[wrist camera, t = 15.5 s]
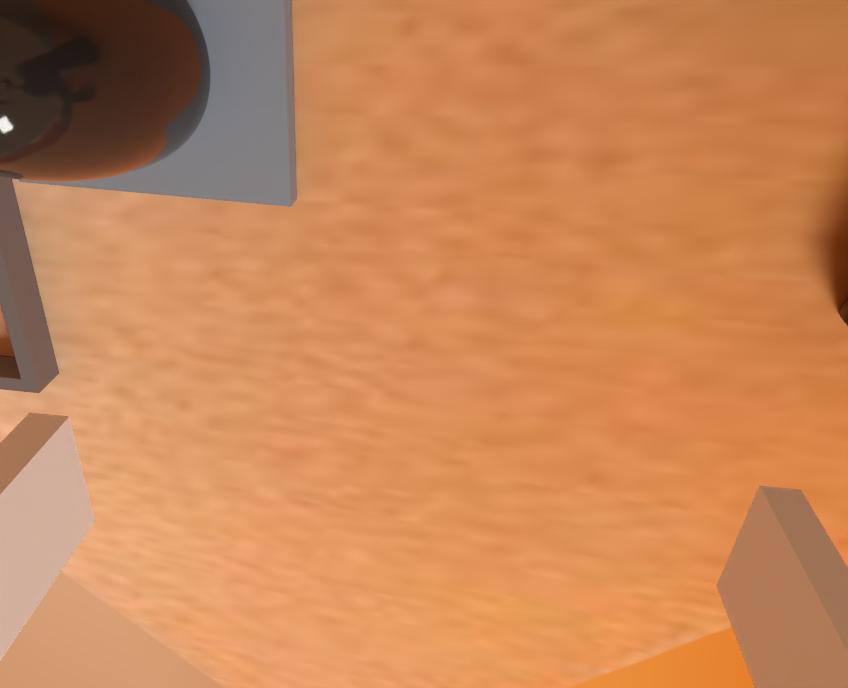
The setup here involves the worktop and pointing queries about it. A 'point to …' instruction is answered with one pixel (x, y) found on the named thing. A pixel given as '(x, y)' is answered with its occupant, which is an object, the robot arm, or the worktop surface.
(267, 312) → the worktop surface
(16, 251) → the gray open frame
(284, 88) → the slate-blue board
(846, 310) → the beverage carton
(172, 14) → the dark brown egg shape
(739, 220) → the worktop surface
